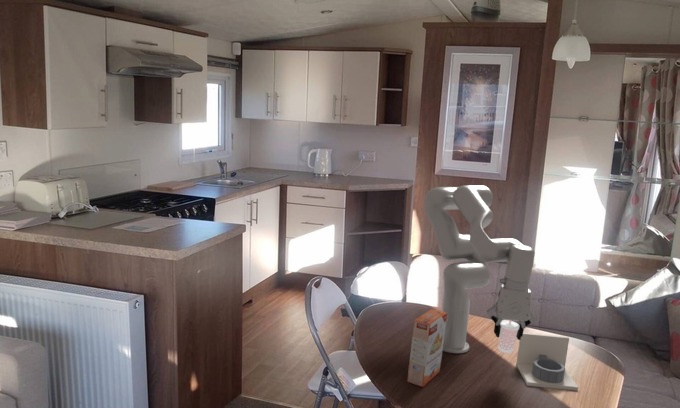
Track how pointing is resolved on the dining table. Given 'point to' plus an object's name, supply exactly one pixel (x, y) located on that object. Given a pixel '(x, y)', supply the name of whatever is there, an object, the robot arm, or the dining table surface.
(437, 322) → the cracker box
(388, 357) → the dining table surface
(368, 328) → the dining table surface
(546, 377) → the bracket
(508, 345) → the beverage cup
